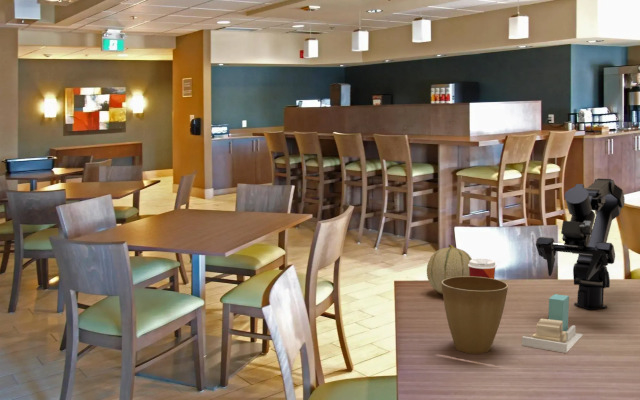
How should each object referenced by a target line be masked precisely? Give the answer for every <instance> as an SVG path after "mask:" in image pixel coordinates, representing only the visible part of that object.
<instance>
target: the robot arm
mask: <svg viewBox="0 0 640 400" xmlns="http://www.w3.org/2000/svg"><path fill="white" fill-rule="evenodd" d="M564 199H565V202H566V207H567V209H568V214H569V215H571V217H570V220H563V221H562V225H561V235H562V238H561V239H562V241H563V242H564V243H560V242H559V243H558V242H556V243H555V239H554V238H553V237H545V236H539V237H538V238H537V239H536V241H535V246H536V250H537V252H538V255H539V257H542V259H544V260H546V264H547V266H546V267H547V273H548V276H549V277H551V276H552V274H553V272H554V271H553V270H554V268H555V263H556V257H555V256H556V254H557V252H561V253H570V254H571V253H572V254H575V255H578V257H577V260H576V262H575V263H574V264H573V269H572V274H573V275H572V276H573V285H574V286H578V290H577V298H576V299H577V301H576V302H574V303H573V305H575V306H577V307H580V308H583V309H586V310H588V311H593V310H599V309H600V310H601V309H605V308H606V309H607V308H608V305H606V304H604V291H605V290H604V289H609V288H610V286H611V279H610V273H609V271H608V270H609V269H608V267H607V266H609V264H610V265H613V264H614V263H615V259H616V253H615V248H614V245H613V243H612V242H607V241H608V238H609V233H610V230H611V226H612V222H613V220H614V219H616V218H617V217H619V216H620V214H621V212H622V209H623V208H624V207H625V199H626V198H625V194H624V191H623V189H622V188H621V187H619V186H618V184H617V185H616V183H615V180H614V179H612V178H599V177H598V178H595V179H594V181H593V182H592V183H591V184H590V185H589V186H588V187H585V185H584V184H583V183H576V184H575V185H574V187H571V188H569V189H568V190H566V191H565V193H564Z"/></svg>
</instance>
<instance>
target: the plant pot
mask: <svg viewBox="0 0 640 400" xmlns="http://www.w3.org/2000/svg"><path fill="white" fill-rule="evenodd" d="M508 288H509V285H508V283H507V282H505V281H503V280H499V279H496V278H494V279H492V278H485V277H474V276H463V277H452V278H447V279H444V280H443V281H442V291H443V294H442V299H443V305H444V310H445V314H446V315H445V316H446V319H447V323H448V327H449V331H450V336H451V338H452V341H453V344H454V347H455V349H456V350H458V351H459V352H461V353H462V352H463V353H466V354H472V355H474V354H476V355H477V354H484V353H488V352H489V351H490V349H491V348H492V345H493V343H494V340H495V338H496V335H497V332H498V329H499V326H500V325H501V324H500V323H501V320H502V316H503V313H504V308H505V305H506V299H507V294H508Z"/></svg>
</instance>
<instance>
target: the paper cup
mask: <svg viewBox="0 0 640 400" xmlns="http://www.w3.org/2000/svg"><path fill="white" fill-rule="evenodd" d="M468 266H469V275H470V276H474V277H485V278H492V279H495V277H496V276H495V274H496V268H497V265H496V262H495V260H493V259H487V258H472V260H470V262H469V264H468Z"/></svg>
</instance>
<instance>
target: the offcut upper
mask: <svg viewBox="0 0 640 400" xmlns="http://www.w3.org/2000/svg"><path fill="white" fill-rule="evenodd" d="M535 328H536V331H535V332H536V336H543V337H551V338H559V337H560V335H561V333H562V330H563V321H559V320H550V319H547V318H540V319H539V320H538V322H537V323H536V327H535Z"/></svg>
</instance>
